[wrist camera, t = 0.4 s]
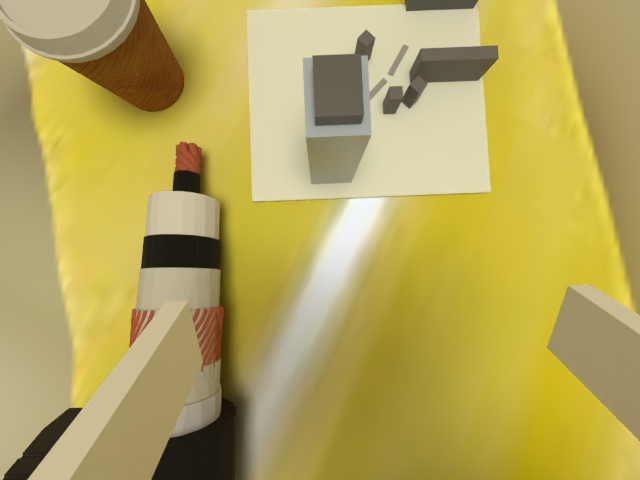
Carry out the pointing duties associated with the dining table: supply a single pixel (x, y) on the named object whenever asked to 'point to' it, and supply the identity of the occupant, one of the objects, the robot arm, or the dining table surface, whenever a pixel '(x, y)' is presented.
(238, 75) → the dining table surface
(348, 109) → the block
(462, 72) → the routing panel
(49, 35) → the disposable coffee cup
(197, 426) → the cable
